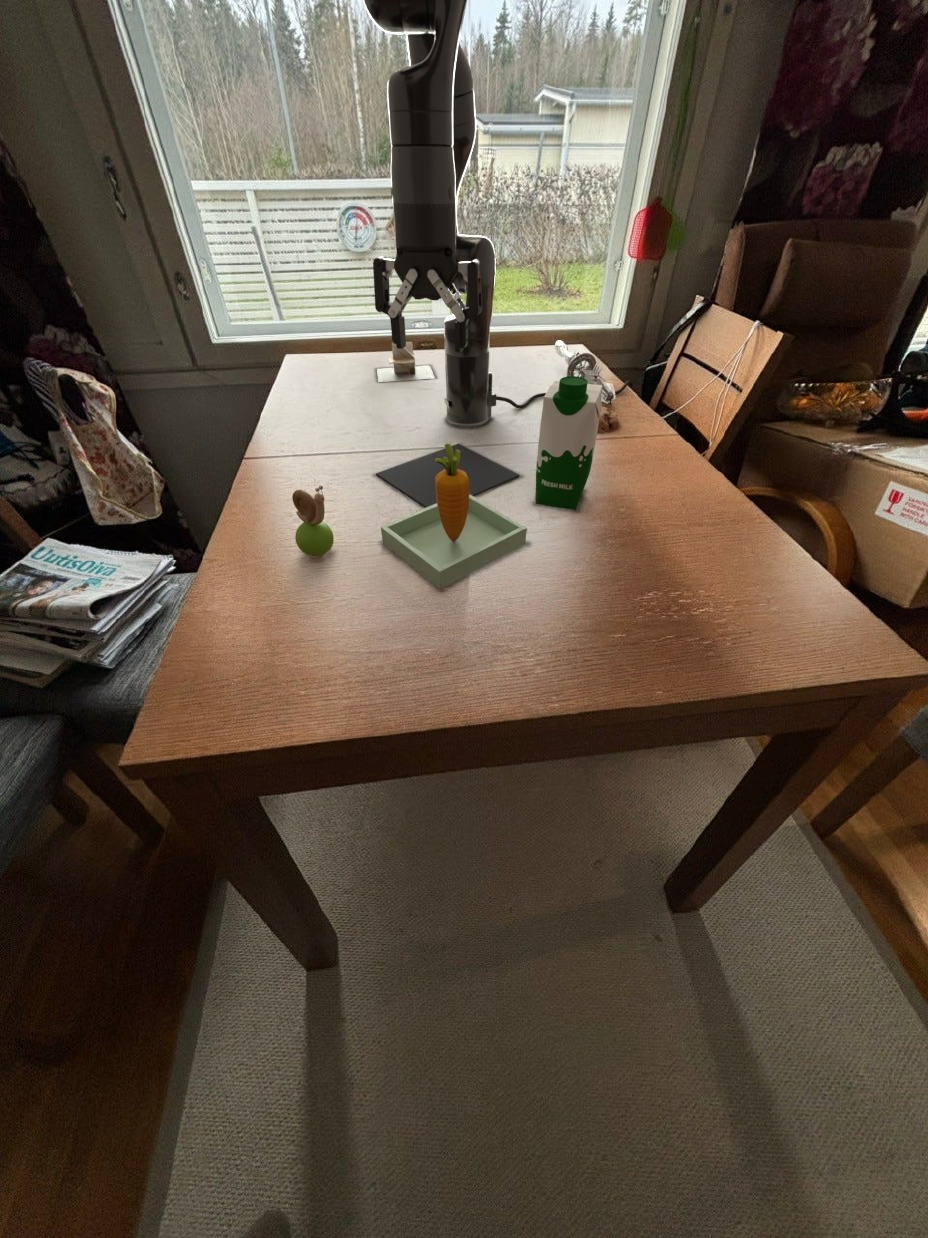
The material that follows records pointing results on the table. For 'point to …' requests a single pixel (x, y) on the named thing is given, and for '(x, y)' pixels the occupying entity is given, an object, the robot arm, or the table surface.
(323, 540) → the snail figurine
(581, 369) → the spaceship
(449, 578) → the tray
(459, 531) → the carrot
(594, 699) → the table surface
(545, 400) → the milk carton
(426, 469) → the mat
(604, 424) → the cookie
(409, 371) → the architectural model
